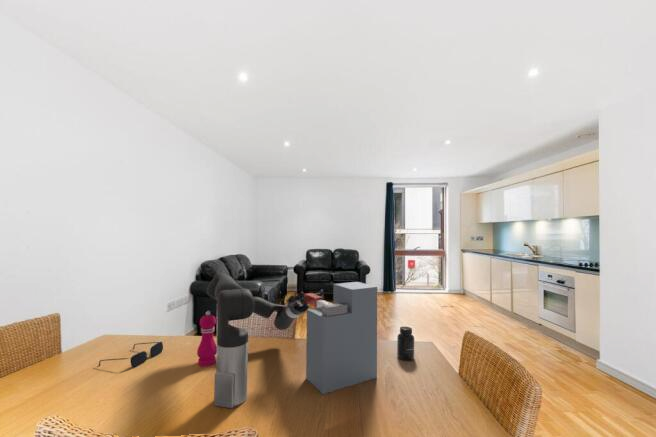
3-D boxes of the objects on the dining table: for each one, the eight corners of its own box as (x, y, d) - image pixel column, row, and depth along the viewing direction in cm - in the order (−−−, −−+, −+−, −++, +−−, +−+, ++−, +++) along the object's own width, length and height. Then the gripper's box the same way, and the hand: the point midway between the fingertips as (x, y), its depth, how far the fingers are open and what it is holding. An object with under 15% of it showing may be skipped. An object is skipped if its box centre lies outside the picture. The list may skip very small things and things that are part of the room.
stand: (306, 378, 107) (307, 286, 108) (356, 364, 119) (357, 281, 120) (323, 394, 97) (324, 292, 98) (376, 377, 108) (377, 286, 109)
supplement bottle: (410, 362, 121) (410, 332, 121) (394, 358, 125) (394, 328, 125) (416, 357, 126) (416, 327, 127) (401, 352, 130) (401, 324, 131)
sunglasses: (132, 370, 112) (131, 356, 113) (97, 372, 115) (96, 359, 115) (164, 352, 130) (163, 340, 130) (133, 354, 132) (132, 342, 132)
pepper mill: (220, 359, 122) (221, 308, 123) (211, 367, 115) (212, 313, 115) (202, 358, 123) (204, 308, 123) (193, 366, 115) (194, 313, 116)
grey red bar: (298, 302, 118) (298, 294, 118) (316, 300, 122) (316, 292, 122) (326, 316, 99) (326, 306, 99) (347, 313, 103) (347, 304, 103)
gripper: (279, 299, 126) (293, 285, 114) (310, 296, 133) (326, 282, 121) (282, 317, 122) (298, 305, 111) (314, 313, 130) (331, 300, 118)
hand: (313, 293), depth 116 cm, fingers open, 8 cm apart
